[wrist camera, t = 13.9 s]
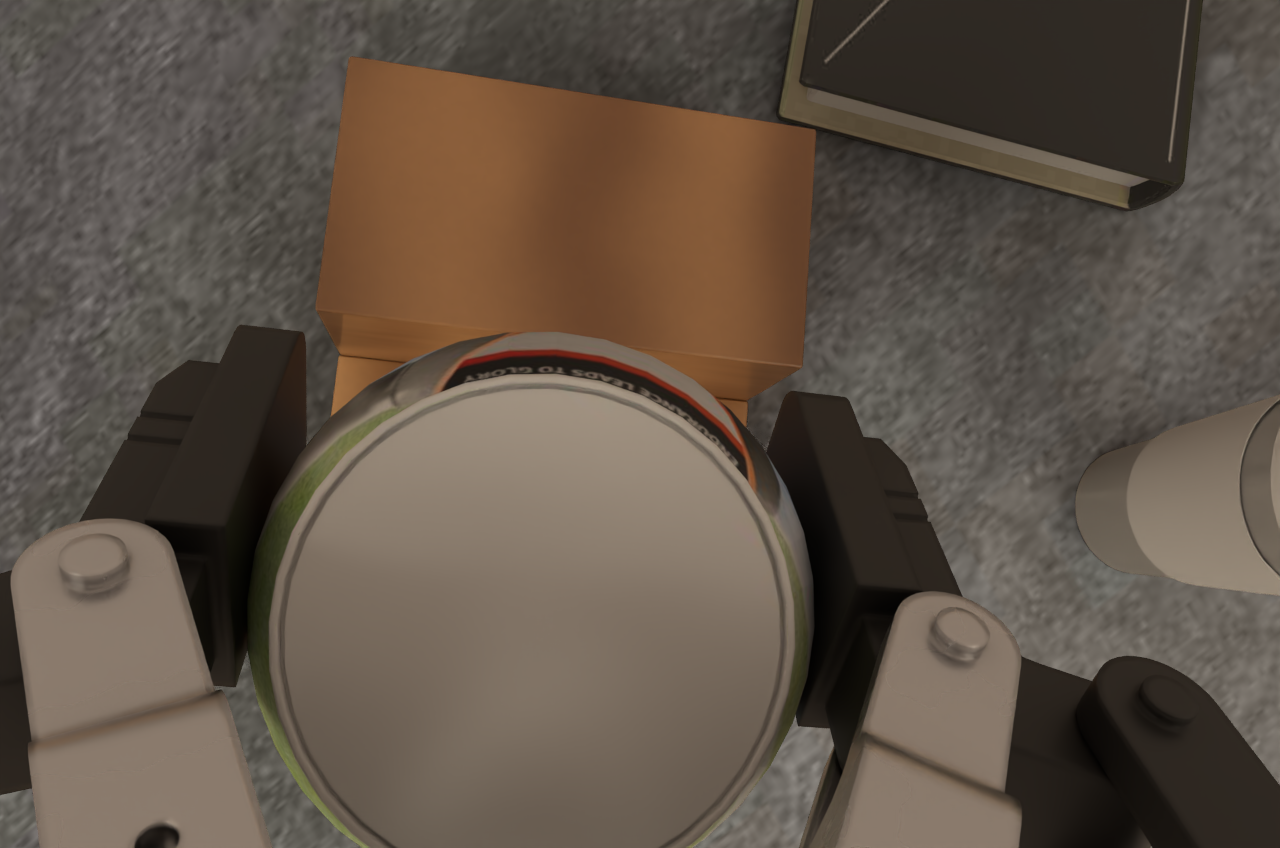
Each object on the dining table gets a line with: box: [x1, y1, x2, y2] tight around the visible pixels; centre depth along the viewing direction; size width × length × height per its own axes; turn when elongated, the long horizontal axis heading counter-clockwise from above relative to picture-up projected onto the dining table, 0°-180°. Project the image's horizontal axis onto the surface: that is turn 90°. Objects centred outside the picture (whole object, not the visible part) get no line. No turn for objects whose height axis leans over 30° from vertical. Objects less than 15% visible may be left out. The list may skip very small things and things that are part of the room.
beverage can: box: [247, 332, 815, 848], centre depth 15 cm, size 6×7×12 cm
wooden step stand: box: [315, 56, 816, 427], centre depth 31 cm, size 13×16×8 cm
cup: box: [1075, 395, 1280, 596], centre depth 33 cm, size 7×7×12 cm
